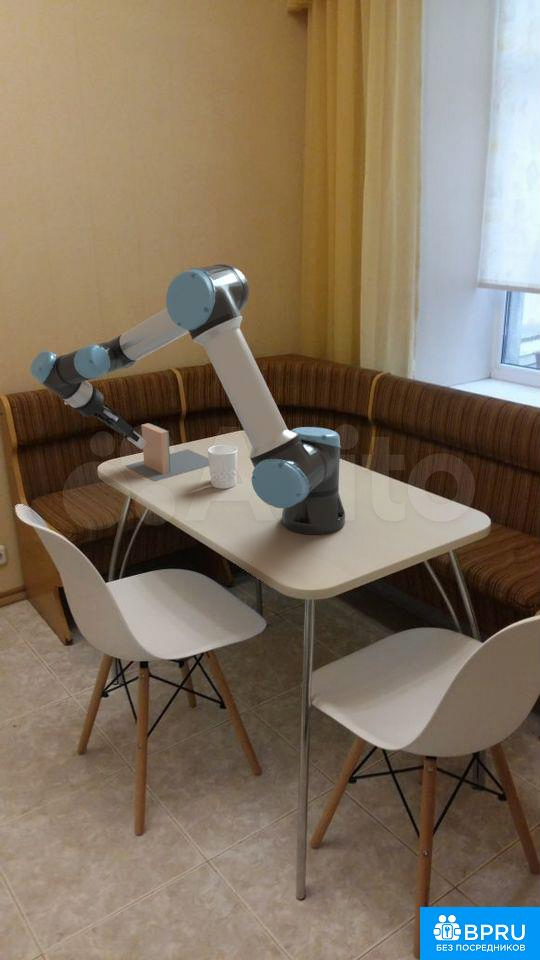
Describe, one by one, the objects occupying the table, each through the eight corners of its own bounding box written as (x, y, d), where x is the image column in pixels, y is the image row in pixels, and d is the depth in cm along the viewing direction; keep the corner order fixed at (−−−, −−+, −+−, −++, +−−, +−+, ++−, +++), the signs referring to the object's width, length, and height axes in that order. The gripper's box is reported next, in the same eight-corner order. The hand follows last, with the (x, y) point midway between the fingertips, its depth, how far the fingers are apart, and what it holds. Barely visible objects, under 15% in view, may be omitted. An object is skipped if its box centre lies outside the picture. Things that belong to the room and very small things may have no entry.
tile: (163, 474, 211) (160, 433, 206) (144, 464, 218) (141, 424, 213) (170, 472, 212) (168, 431, 208) (151, 462, 219) (148, 423, 215)
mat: (154, 483, 206) (154, 481, 206) (124, 467, 217) (124, 465, 217) (219, 464, 219) (219, 462, 219) (187, 451, 230) (187, 449, 230)
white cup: (225, 492, 200) (224, 456, 196) (203, 485, 204) (201, 450, 201) (244, 483, 206) (243, 448, 202) (222, 477, 210) (221, 442, 206)
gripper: (63, 403, 198) (123, 450, 214) (86, 414, 189) (148, 462, 205) (79, 380, 199) (138, 428, 215) (104, 389, 190) (163, 439, 206)
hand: (143, 444), depth 210 cm, fingers closed
